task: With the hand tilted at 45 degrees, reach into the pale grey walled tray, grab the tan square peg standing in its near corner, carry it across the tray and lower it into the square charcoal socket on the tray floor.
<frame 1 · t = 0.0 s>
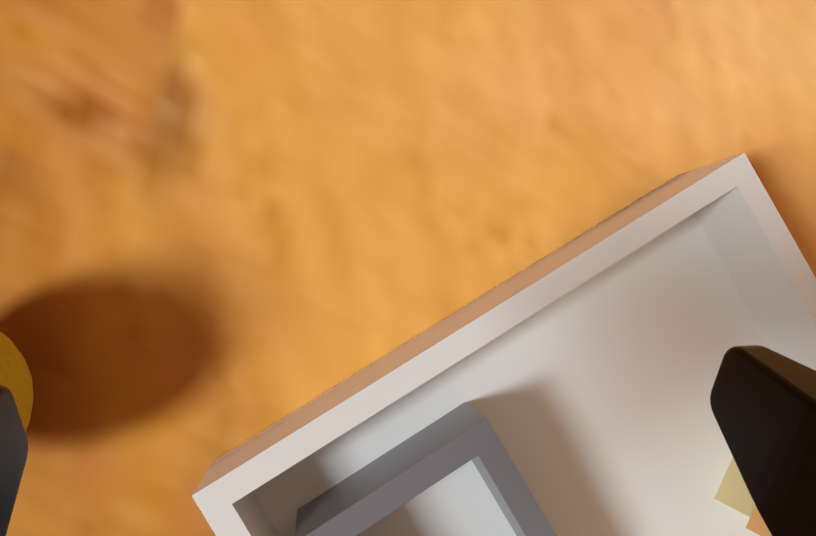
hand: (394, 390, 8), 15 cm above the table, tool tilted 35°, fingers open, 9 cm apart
tan square peg: (754, 483, 24), point 1 cm above the table, touching walled tray
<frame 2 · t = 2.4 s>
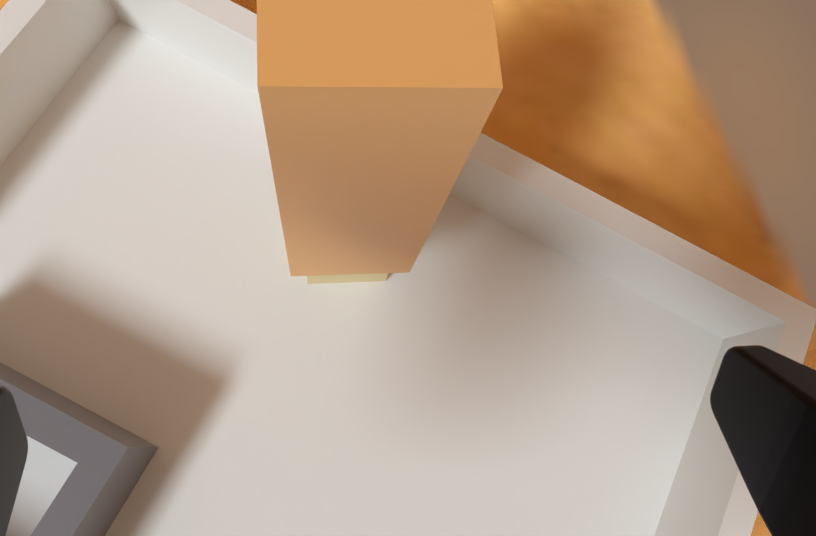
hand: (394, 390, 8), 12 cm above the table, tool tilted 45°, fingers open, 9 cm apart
walled tray: (277, 437, 19), on the table
tan square peg: (345, 245, 20), point 1 cm above the table, touching walled tray
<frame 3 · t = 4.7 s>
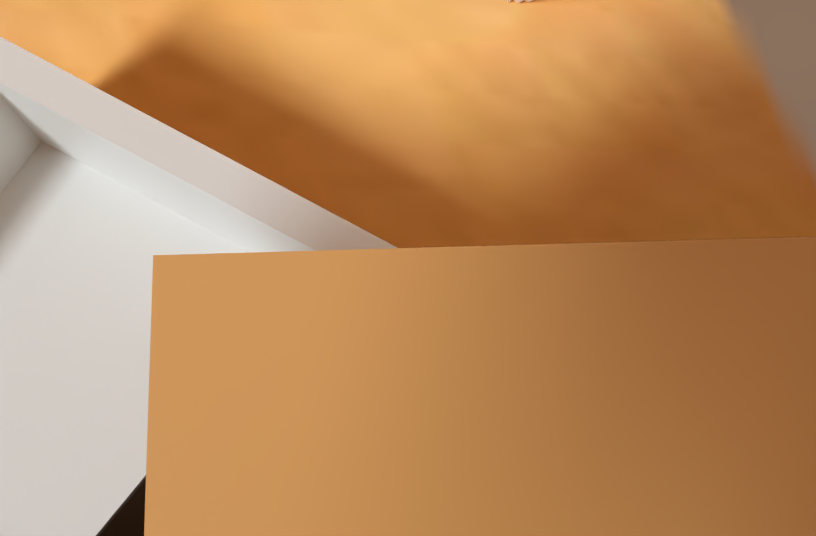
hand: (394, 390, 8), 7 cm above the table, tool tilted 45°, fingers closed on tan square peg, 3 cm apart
tan square peg: (366, 479, 14), point 1 cm above the table, touching gripper, walled tray
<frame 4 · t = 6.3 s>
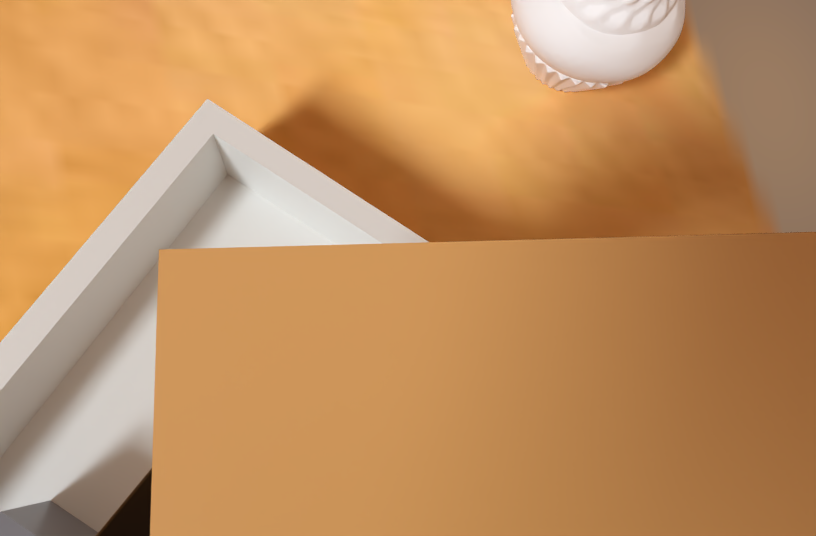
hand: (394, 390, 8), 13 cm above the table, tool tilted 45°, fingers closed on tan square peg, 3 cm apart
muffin: (560, 59, 26), on the table
tan square peg: (367, 478, 14), point 7 cm above the table, touching gripper
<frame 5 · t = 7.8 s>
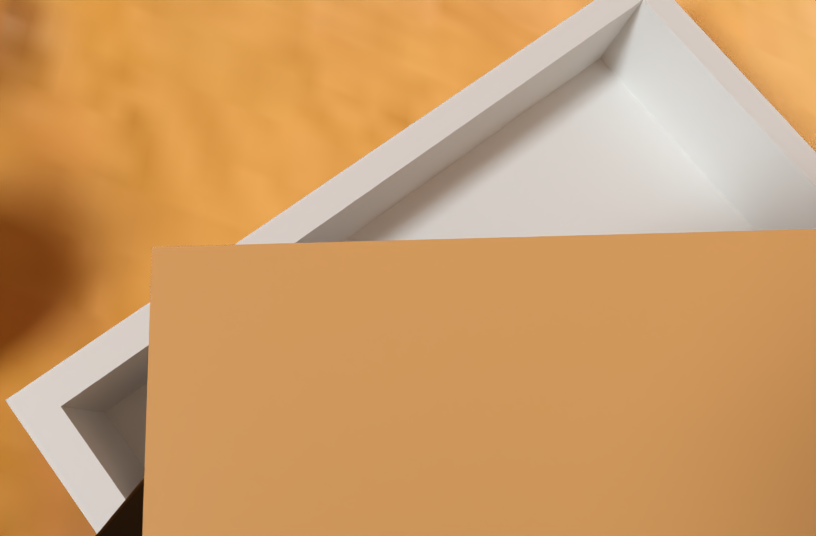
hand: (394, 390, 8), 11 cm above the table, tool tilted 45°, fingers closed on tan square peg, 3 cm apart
walled tray: (619, 520, 19), on the table
tan square peg: (366, 478, 14), point 4 cm above the table, touching gripper
when the fingers open (8 cm above the table, at t = 8.7 s): tan square peg stays where it is, resting on walled tray.
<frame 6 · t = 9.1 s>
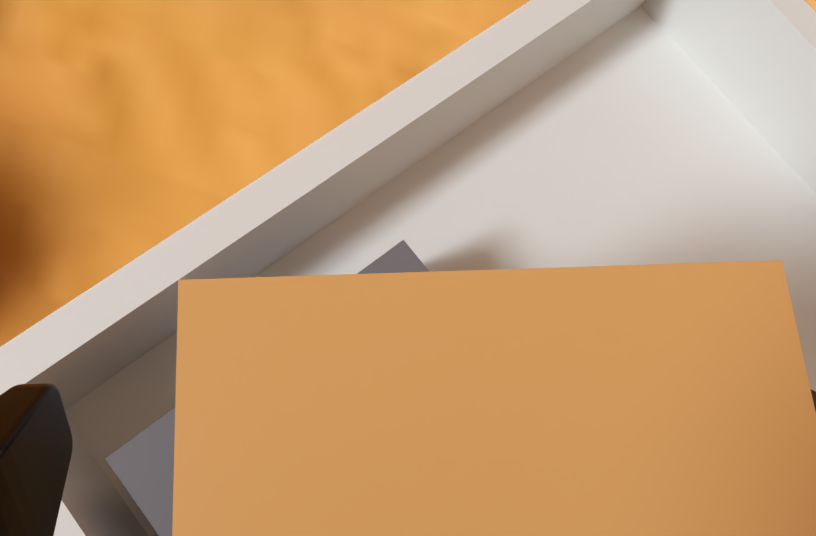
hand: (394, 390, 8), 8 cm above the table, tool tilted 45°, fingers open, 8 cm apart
tan square peg: (364, 477, 14), point 1 cm above the table, touching walled tray
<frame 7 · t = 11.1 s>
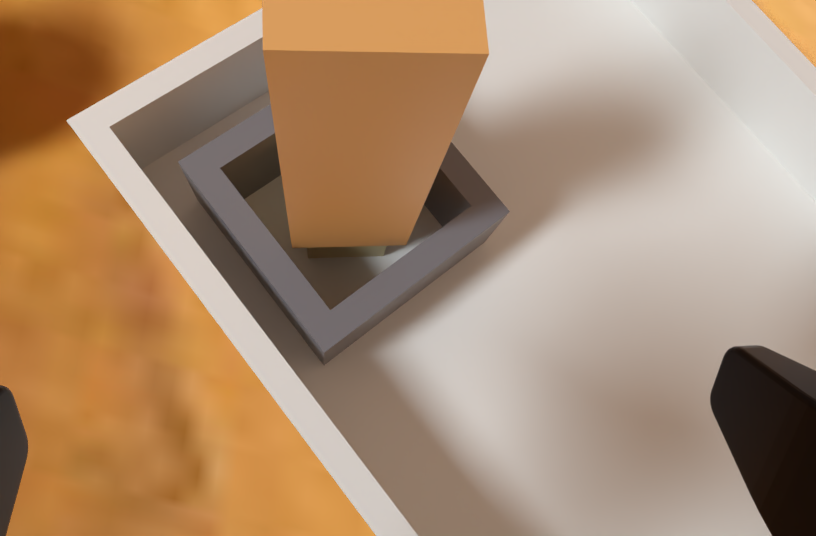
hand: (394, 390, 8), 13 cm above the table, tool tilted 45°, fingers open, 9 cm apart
walled tray: (563, 282, 23), on the table
tan square peg: (344, 221, 21), point 1 cm above the table, touching walled tray
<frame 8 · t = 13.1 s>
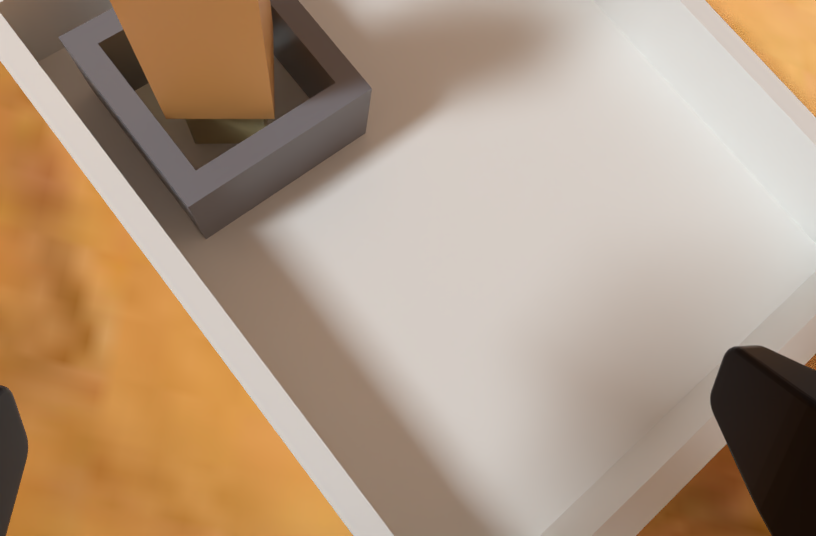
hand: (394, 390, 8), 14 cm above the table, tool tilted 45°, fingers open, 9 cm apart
walled tray: (445, 175, 24), on the table
tan square peg: (231, 111, 22), point 1 cm above the table, touching walled tray
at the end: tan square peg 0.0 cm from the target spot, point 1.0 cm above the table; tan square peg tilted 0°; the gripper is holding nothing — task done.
